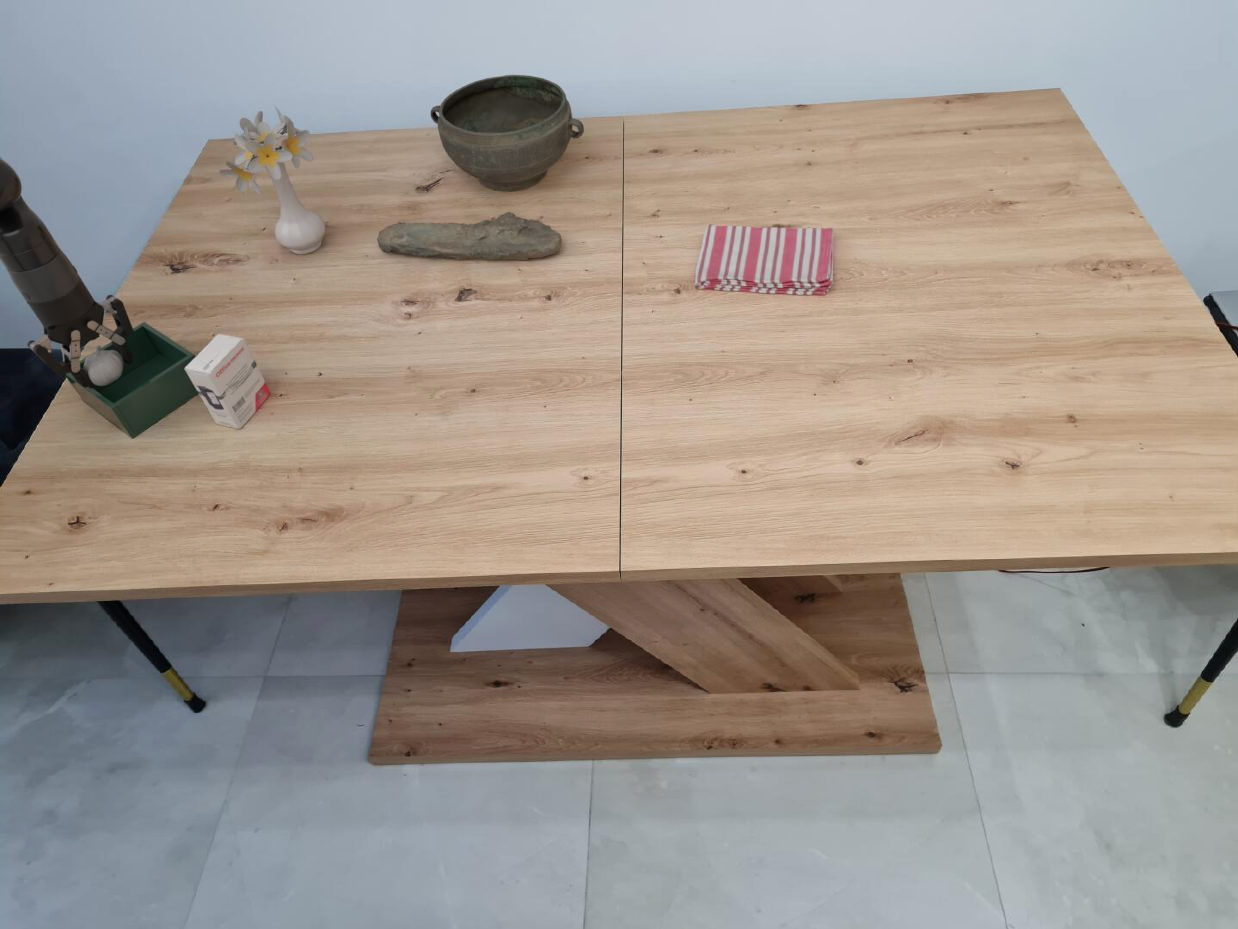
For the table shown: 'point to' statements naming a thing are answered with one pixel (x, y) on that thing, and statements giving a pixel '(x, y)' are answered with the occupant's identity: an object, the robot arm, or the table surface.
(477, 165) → the bowl
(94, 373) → the garlic
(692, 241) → the table surface
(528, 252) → the elongated rock
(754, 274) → the dish towel
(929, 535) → the table surface
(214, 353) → the ink box
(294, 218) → the flower vase
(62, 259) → the robot arm
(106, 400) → the green tapered tray
